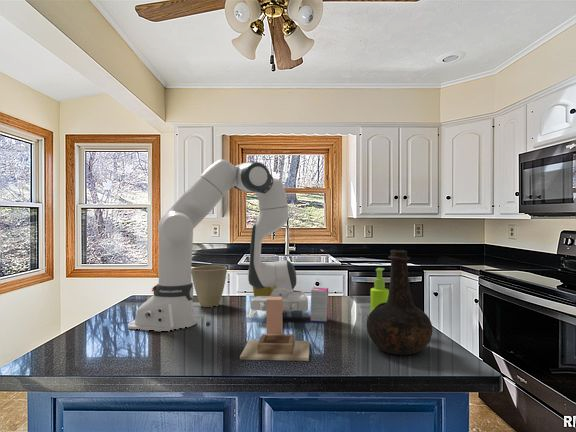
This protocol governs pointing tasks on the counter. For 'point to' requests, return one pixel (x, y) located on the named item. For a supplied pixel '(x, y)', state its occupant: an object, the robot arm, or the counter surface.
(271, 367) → the counter surface
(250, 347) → the housing
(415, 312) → the glass bottle
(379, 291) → the soap dispenser
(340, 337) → the counter surface
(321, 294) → the supplement box
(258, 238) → the robot arm
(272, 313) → the block
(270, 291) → the flower pot
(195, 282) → the plant pot
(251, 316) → the butter knife
